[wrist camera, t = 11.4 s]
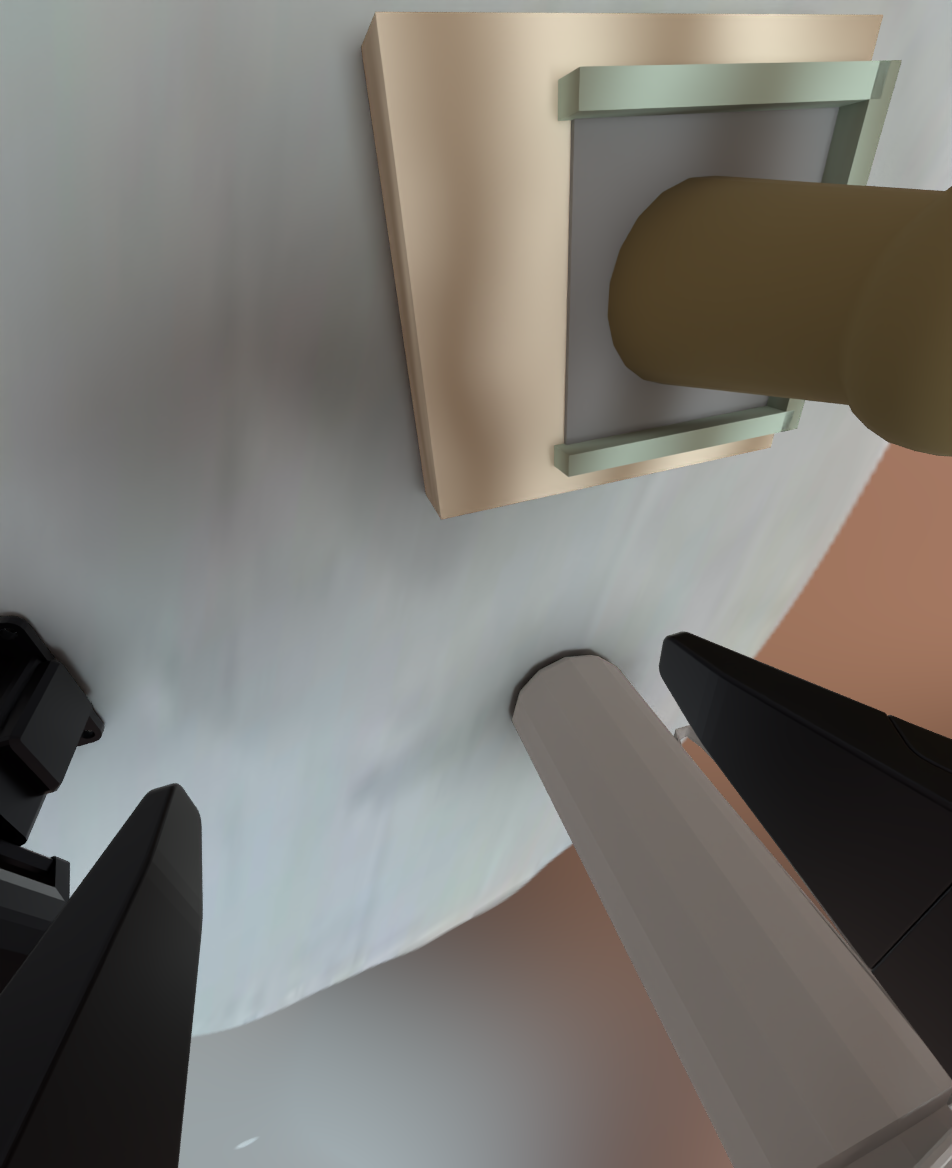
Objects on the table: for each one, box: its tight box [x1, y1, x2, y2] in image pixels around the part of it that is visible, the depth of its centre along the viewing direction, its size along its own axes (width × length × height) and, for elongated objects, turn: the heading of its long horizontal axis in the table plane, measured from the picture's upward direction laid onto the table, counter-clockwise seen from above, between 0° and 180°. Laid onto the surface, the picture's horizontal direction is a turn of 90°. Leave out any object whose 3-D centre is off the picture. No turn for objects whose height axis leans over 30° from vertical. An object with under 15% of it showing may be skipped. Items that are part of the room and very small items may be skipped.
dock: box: [361, 12, 902, 519], centre depth 17 cm, size 15×13×4 cm
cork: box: [608, 176, 952, 456], centre depth 13 cm, size 6×6×11 cm
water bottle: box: [512, 655, 952, 1168], centre depth 21 cm, size 9×8×25 cm
